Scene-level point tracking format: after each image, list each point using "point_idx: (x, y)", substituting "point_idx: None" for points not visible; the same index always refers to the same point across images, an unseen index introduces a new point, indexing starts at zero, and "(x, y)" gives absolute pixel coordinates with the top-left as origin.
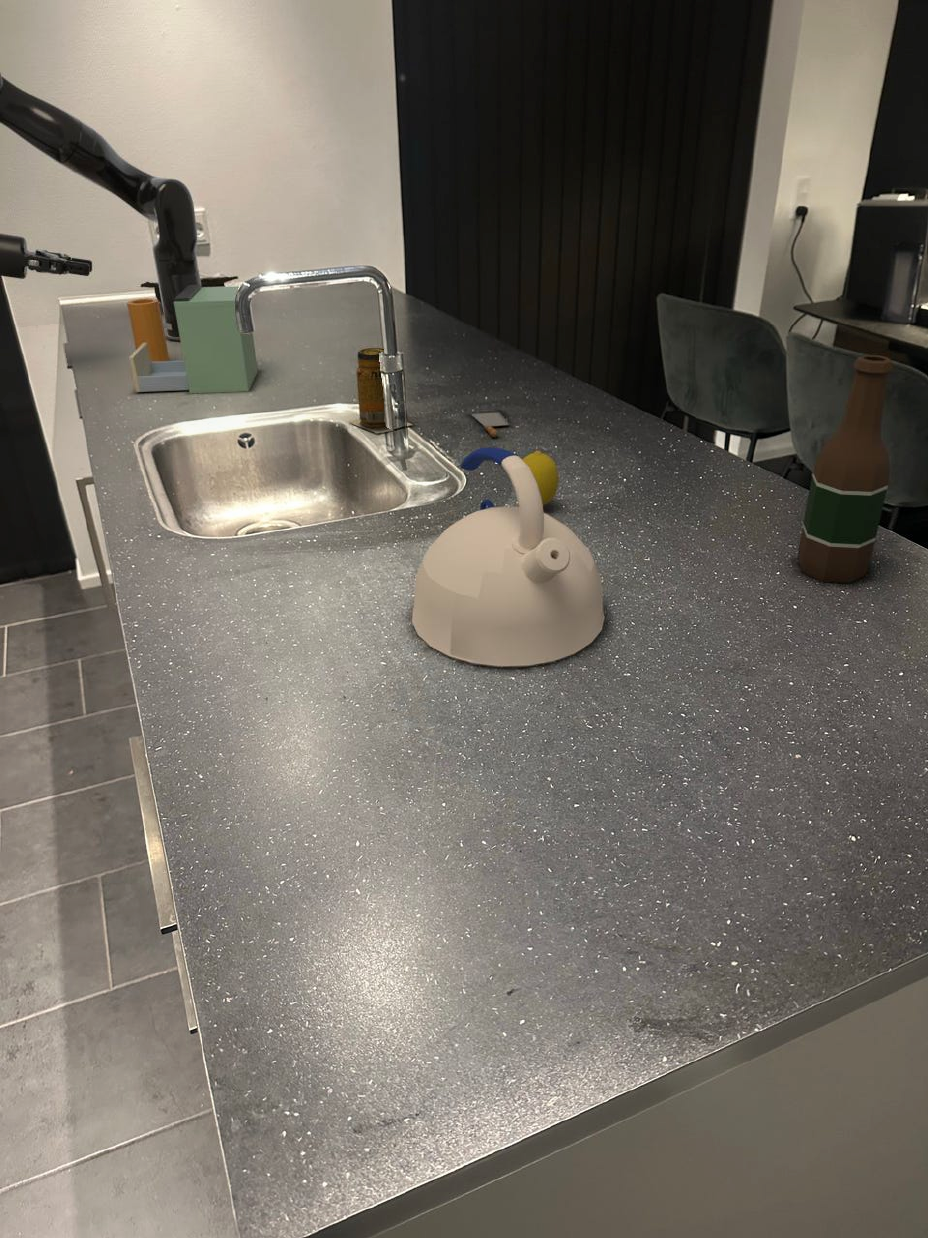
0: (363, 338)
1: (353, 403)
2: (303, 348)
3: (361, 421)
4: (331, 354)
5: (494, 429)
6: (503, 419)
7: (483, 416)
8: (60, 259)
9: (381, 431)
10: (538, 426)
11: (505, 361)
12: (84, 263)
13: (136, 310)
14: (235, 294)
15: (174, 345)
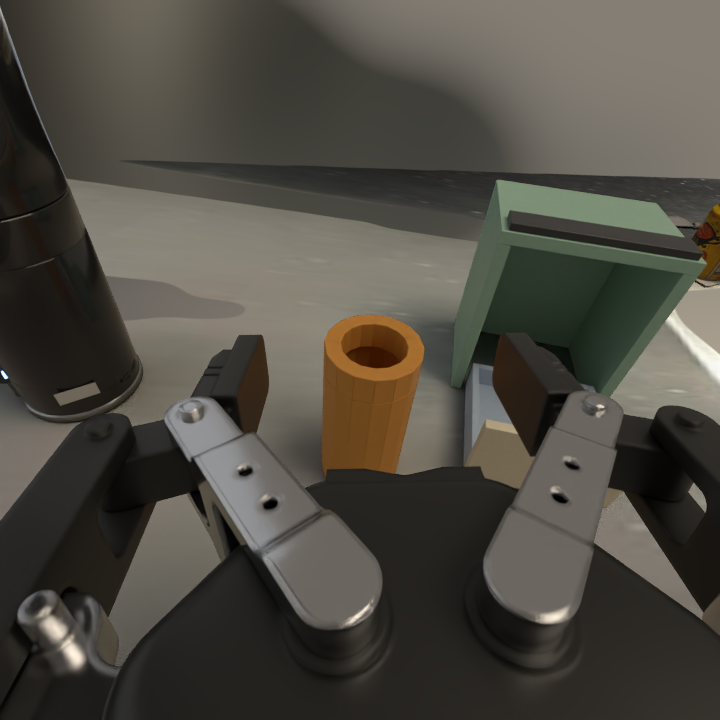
0: (304, 218)
1: None
2: (326, 264)
3: (712, 277)
4: (379, 250)
5: None
6: None
7: None
8: (693, 412)
9: None
10: (672, 209)
11: (461, 179)
12: (530, 340)
13: (418, 376)
14: (595, 197)
15: (156, 415)
